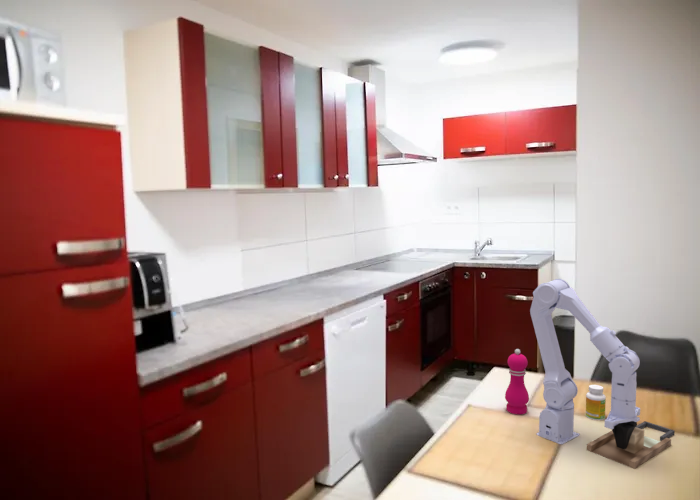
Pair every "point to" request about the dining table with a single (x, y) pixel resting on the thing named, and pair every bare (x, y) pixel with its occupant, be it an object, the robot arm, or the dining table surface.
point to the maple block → (635, 441)
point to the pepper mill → (517, 384)
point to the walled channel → (608, 450)
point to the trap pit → (667, 431)
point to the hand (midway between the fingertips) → (621, 447)
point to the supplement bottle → (595, 403)
